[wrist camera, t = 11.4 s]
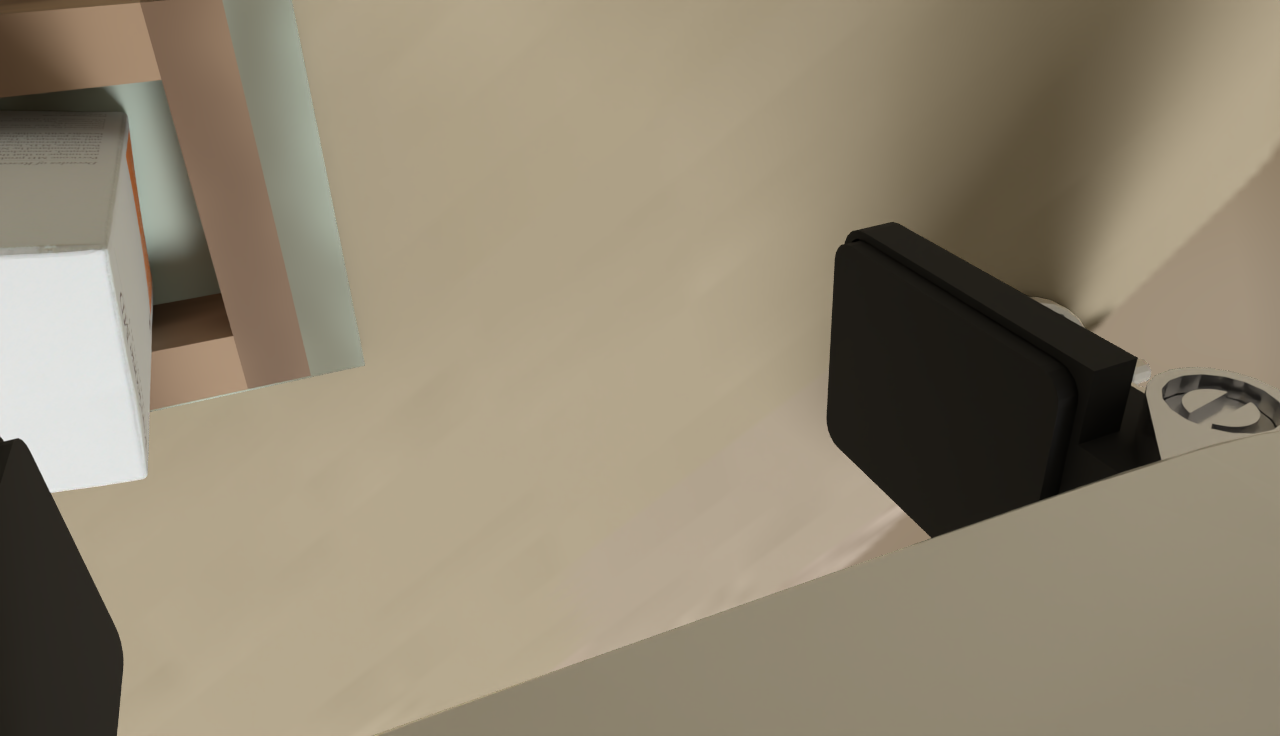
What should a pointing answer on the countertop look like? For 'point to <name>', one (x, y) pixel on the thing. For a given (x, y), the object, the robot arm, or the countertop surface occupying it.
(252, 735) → the countertop surface
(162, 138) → the socket holder
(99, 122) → the skincare box
